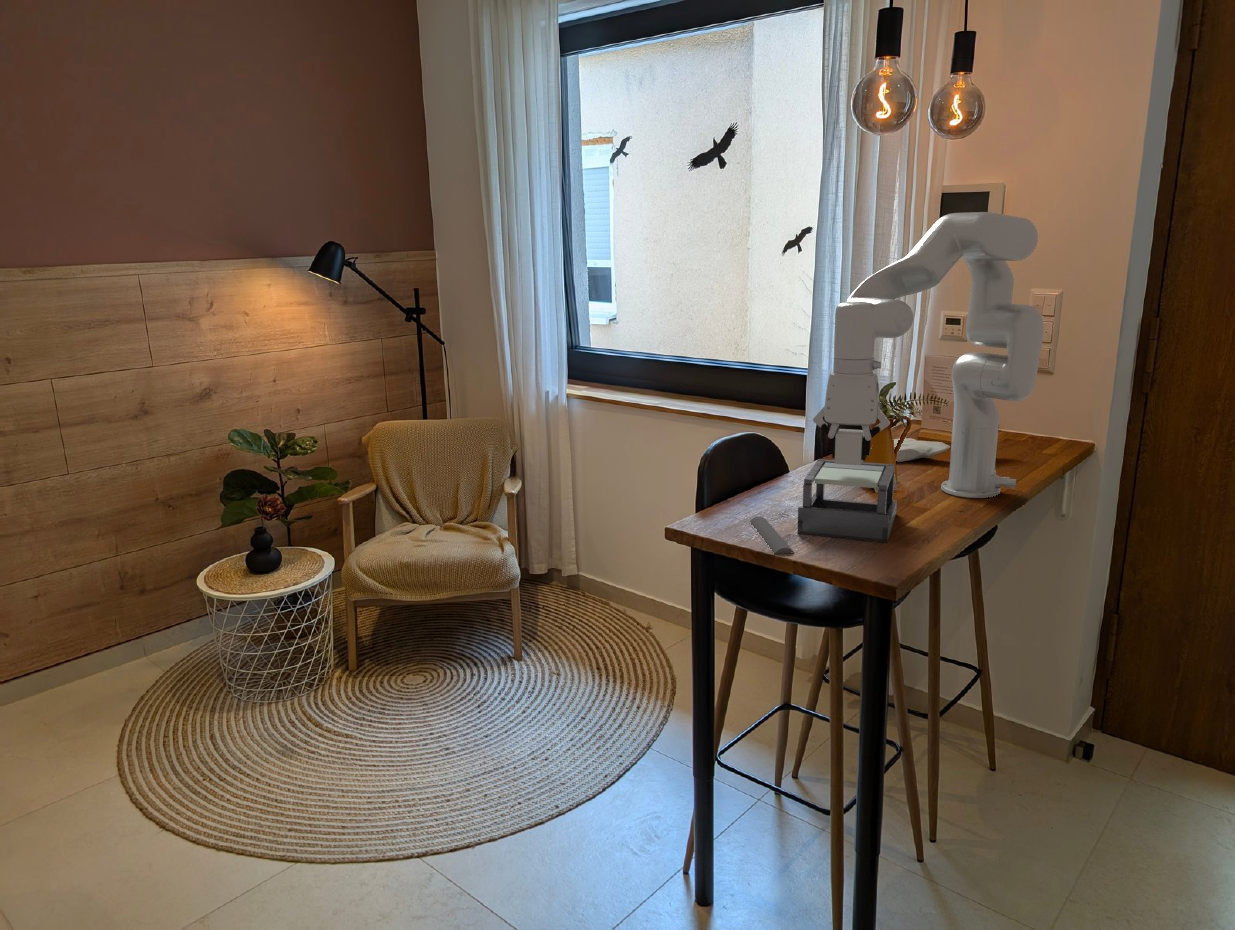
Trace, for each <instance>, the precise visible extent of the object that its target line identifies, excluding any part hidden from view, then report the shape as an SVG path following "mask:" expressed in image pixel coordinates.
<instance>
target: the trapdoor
mask: <svg viewBox="0 0 1235 930" xmlns="http://www.w3.org/2000/svg"><path fill="white" fill-rule="evenodd" d="M884 471H885V470H884V467H883V466H869V465H861V466H860V465H845V464H835V463H827V462H826V463H825V464H824V465H823V467H822V468H821V470H820V471H819V473H818V474H817V476H816V477H815V480H814V484H816V483H817V484H825V485H829V486H830V485H832V486H845V487H855V488H870V489H872V488H873V489H878V488H879V483H880V481H881V478H882V476H883V474H884Z"/></svg>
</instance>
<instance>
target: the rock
mask: <svg viewBox="0 0 1235 930" xmlns="http://www.w3.org/2000/svg"><path fill="white" fill-rule="evenodd" d="M900 438H901V437H899V438H895V439H893V440H894V447H896V446H897V443H898V440H900ZM950 449H951V445H949V444H946V443H944V442H942V441H929V440H928V441H926V440H916V439H915V438H911V437H909V438H906V437H905V439H904V441H903V443H902V444H901V447H900V449H899V451H898V452H897V462H896V463H901V462H907V461H914V460H918V459H922V458H932V457H934V456H935V455H939V454H940V453H942V452H945V451H948V450H950Z"/></svg>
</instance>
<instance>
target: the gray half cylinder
mask: <svg viewBox="0 0 1235 930" xmlns="http://www.w3.org/2000/svg"><path fill="white" fill-rule="evenodd" d="M749 522H751V525H753V526H754V528H756V529H757V532H759V534H760V535H761V536H762V538H764V540H765V542H766V543H767V545H769V547H770V549H772V551H773V552H774V554H773V555H780V554H779V553H787V554H791V553H790V552H794V549H792V548H791V547H790V545H789V544H788V543H787V542H786V540H784V538H782V536H781V535H780V534H779V533H778V532H777V530H776V529H775V528H774V527H773V526H772V525H771V523H770V522H769V521H768V520H767V519H766V518H764V516H755V517H752V518H751V519H750V520H749ZM751 525H750V526H751ZM754 528H753V529H754ZM757 532H756V533H757ZM762 538H761V539H762ZM765 542H764V543H765ZM766 543H765V544H766ZM767 545H766V546H767ZM769 547H768V548H769ZM770 549H769V550H770ZM772 551H771V552H772ZM773 552H772V553H773ZM794 553H795V552H794Z"/></svg>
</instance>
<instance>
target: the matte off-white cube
mask: <svg viewBox="0 0 1235 930" xmlns="http://www.w3.org/2000/svg"><path fill="white" fill-rule="evenodd" d="M863 439H864V433H863V429H848V428H847V429H846V428H838V430H837V432H836V440H835V458H834V460H835V464H845V465H860V466H861V464H862V462H864V460H862V441H863Z"/></svg>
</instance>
